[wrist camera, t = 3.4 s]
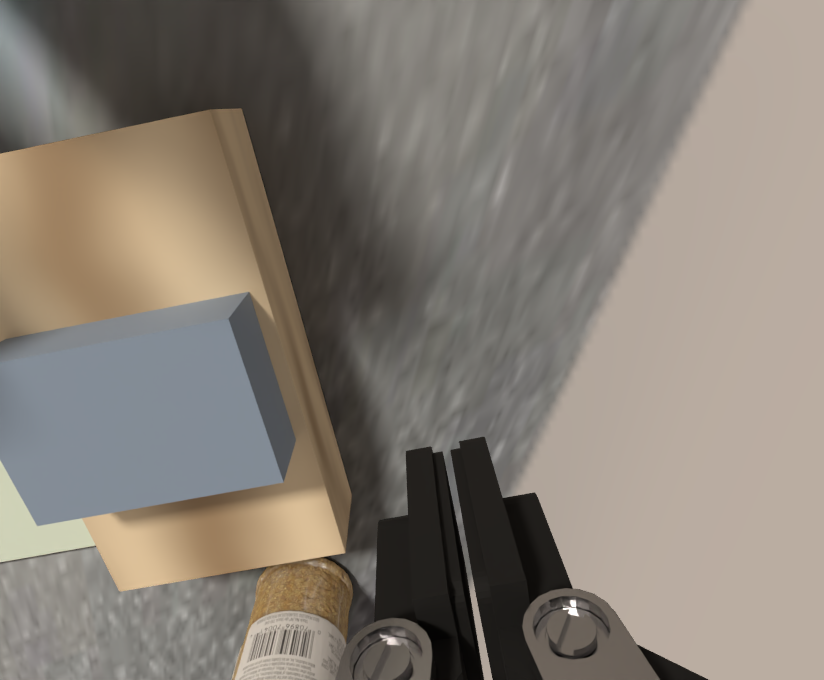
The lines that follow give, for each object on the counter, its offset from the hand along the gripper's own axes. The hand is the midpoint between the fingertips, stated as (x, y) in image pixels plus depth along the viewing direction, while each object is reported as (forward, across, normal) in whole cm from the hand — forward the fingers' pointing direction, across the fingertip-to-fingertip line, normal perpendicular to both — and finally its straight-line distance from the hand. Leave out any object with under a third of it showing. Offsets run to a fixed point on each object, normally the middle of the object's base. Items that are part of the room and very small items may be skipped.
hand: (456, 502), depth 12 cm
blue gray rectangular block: (+8, +9, -1) cm, 12 cm away
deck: (+11, +9, -1) cm, 14 cm away
